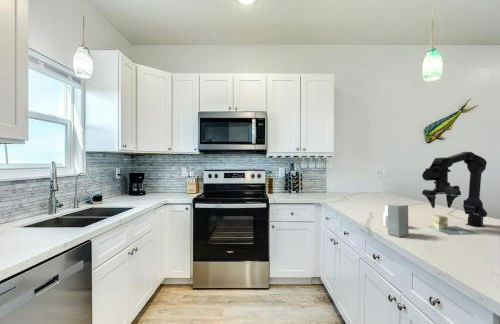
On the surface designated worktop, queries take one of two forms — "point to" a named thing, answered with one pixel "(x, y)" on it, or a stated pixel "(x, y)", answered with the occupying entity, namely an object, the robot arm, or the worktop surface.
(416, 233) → the worktop surface
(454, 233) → the mat
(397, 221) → the skincare box
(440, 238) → the worktop surface
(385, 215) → the medicine bottle
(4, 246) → the worktop surface
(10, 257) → the worktop surface
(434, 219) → the maple block
